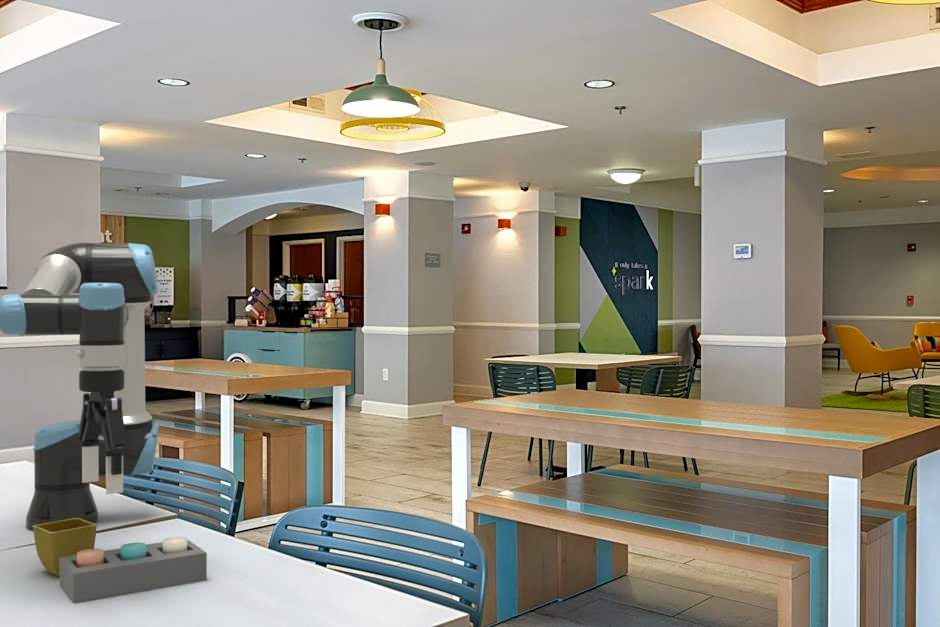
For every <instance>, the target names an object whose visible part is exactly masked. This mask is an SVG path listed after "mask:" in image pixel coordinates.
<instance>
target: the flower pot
mask: <svg viewBox="0 0 940 627" xmlns="http://www.w3.org/2000/svg"><path fill="white" fill-rule="evenodd" d="M97 527H98V524H96V523H91V522H88V521H85V520H83V519H80V518H73V519H67V520H62V521H56V522H50V523H45V524H39V525H34V526H33V530H32V531H33V539H34V542H35V543H34V544H35V550H36V553H37V557H38V558H39V561H40V563H41V565H42V566H43V568H44V570H46V571H47V572H48V573H50V574H53V575H54V576H57V577H59V557H65V556H72V555H77V552H79V551H82V550H86V549H95V543H96V537H97V536H96V535H97Z"/></svg>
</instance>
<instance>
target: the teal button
mask: <svg viewBox="0 0 940 627" xmlns="http://www.w3.org/2000/svg"><path fill="white" fill-rule="evenodd" d="M146 545H147V543H146V542H129V543H125V544H122V545H121V546H120V548H121V561H124V560H130V559H137V558H143V557H146Z"/></svg>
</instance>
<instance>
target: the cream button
mask: <svg viewBox="0 0 940 627" xmlns="http://www.w3.org/2000/svg"><path fill="white" fill-rule="evenodd" d="M187 539H188V538H187V537H186V536H170V537H169V536H168V537H167V538H164V539H162V542H163V554H169V553H175V552H182V551H187Z"/></svg>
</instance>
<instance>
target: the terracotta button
mask: <svg viewBox="0 0 940 627" xmlns="http://www.w3.org/2000/svg"><path fill="white" fill-rule="evenodd" d="M103 551H104V550H103V549H102V548H94V549H86V550H82V551H79V552H77V568H79V567H85V566H91V565H98V564H104V559H103Z"/></svg>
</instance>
